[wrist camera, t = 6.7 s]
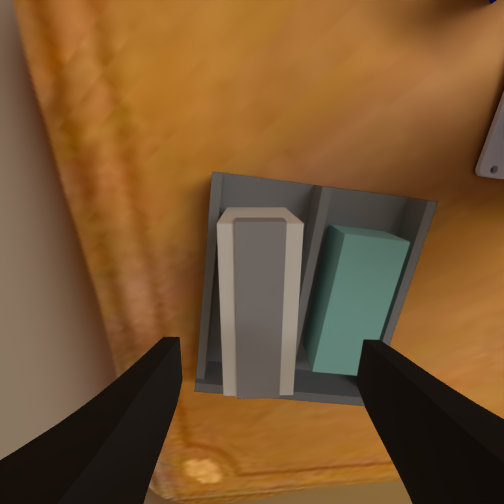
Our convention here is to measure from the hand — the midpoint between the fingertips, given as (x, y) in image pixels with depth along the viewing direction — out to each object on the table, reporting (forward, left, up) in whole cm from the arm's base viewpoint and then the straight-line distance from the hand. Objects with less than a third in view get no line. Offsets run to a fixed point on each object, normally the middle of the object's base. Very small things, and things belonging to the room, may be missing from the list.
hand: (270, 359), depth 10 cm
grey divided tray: (-3, +1, -10) cm, 10 cm away
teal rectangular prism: (-6, +1, -9) cm, 11 cm away
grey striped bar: (0, 0, -9) cm, 9 cm away
